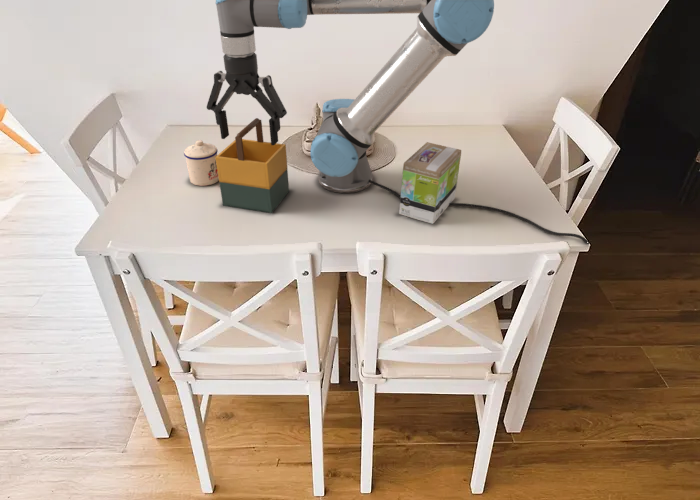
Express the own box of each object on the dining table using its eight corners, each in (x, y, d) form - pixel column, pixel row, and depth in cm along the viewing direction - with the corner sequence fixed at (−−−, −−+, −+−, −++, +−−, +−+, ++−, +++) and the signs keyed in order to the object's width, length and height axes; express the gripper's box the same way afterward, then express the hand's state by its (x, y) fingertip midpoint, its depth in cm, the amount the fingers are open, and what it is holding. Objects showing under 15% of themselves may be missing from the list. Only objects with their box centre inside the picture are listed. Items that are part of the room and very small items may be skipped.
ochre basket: (287, 168, 144) (283, 119, 136) (269, 189, 135) (264, 138, 127) (240, 162, 147) (233, 114, 140) (219, 182, 138) (211, 131, 130)
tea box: (434, 225, 134) (440, 171, 125) (398, 215, 138) (401, 162, 129) (455, 199, 145) (462, 148, 136) (421, 190, 149) (425, 140, 140)
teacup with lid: (215, 187, 150) (209, 148, 143) (184, 185, 151) (176, 147, 144) (228, 168, 160) (223, 131, 153) (199, 166, 161) (192, 129, 154)
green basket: (289, 191, 148) (287, 168, 144) (271, 213, 139) (269, 189, 135) (242, 184, 151) (239, 162, 147) (222, 205, 142) (219, 182, 138)
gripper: (296, 53, 123) (301, 139, 135) (199, 45, 129) (212, 128, 141) (284, 62, 117) (290, 152, 130) (182, 53, 123) (198, 140, 135)
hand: (249, 140), depth 135 cm, fingers open, 13 cm apart
